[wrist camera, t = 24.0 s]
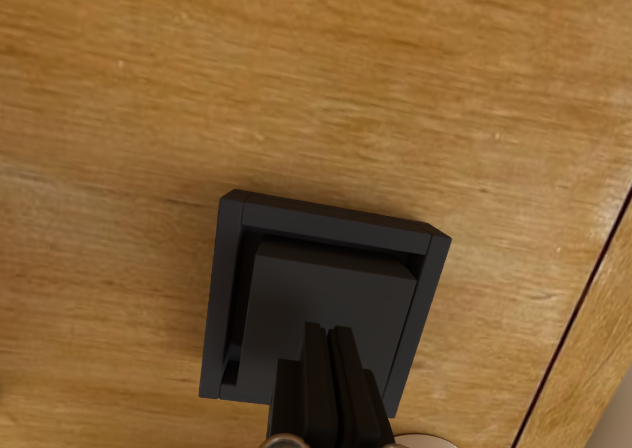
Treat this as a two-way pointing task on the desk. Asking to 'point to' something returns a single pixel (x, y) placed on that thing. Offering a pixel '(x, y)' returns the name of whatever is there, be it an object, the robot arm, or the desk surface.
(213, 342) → the socket pad
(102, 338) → the desk surface
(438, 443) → the cup
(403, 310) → the black pad
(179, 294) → the desk surface
